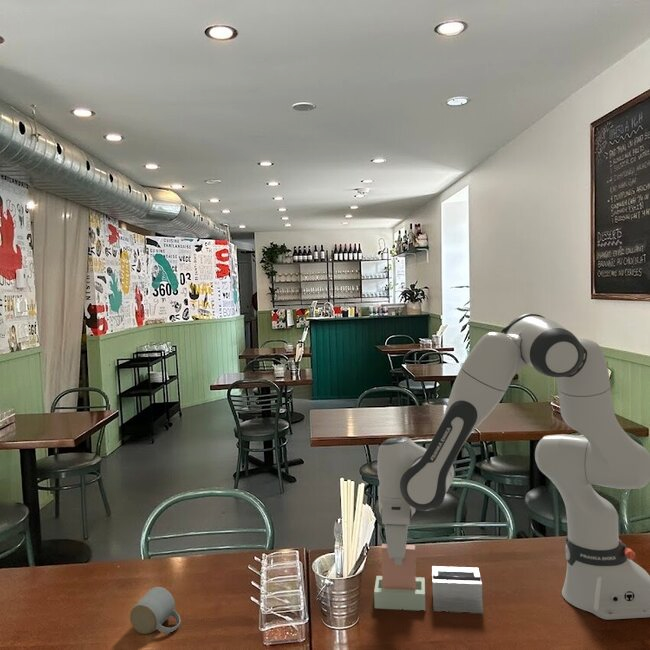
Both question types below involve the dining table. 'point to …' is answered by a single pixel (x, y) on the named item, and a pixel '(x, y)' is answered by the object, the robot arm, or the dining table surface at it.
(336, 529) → the wineglass
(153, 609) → the ceramic mug
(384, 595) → the stand
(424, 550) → the dining table surface
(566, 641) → the dining table surface
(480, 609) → the dispenser
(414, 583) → the ticket
